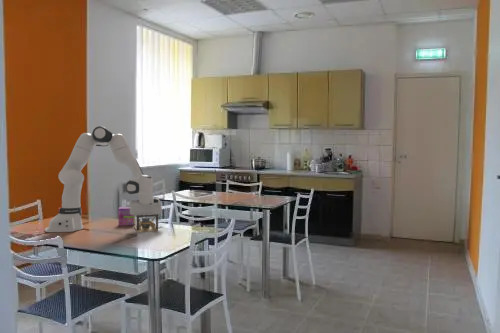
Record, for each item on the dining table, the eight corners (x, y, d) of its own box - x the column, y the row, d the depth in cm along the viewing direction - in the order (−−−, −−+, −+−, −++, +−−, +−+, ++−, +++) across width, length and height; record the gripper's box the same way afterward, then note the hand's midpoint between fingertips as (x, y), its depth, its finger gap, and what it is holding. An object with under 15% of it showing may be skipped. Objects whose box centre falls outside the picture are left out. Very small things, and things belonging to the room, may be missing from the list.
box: (118, 225, 294) (118, 208, 294) (119, 224, 300) (119, 207, 299) (134, 225, 296) (134, 208, 295) (135, 223, 301) (135, 206, 301)
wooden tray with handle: (136, 232, 273) (136, 215, 272) (133, 227, 288) (133, 211, 287) (158, 231, 278) (158, 214, 277) (154, 226, 293) (154, 210, 292)
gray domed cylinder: (142, 228, 280) (142, 219, 279) (141, 226, 284) (141, 217, 284) (150, 227, 282) (150, 218, 281) (149, 226, 286) (149, 217, 286)
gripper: (129, 201, 275) (129, 222, 276) (162, 200, 283) (162, 221, 283) (128, 199, 281) (128, 221, 282) (160, 198, 289) (160, 219, 289)
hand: (145, 221), depth 283 cm, fingers open, 7 cm apart
